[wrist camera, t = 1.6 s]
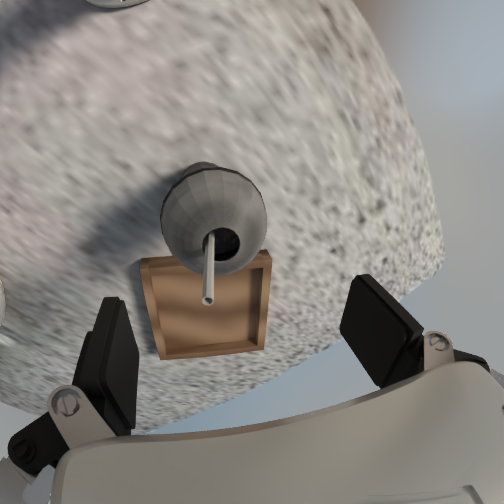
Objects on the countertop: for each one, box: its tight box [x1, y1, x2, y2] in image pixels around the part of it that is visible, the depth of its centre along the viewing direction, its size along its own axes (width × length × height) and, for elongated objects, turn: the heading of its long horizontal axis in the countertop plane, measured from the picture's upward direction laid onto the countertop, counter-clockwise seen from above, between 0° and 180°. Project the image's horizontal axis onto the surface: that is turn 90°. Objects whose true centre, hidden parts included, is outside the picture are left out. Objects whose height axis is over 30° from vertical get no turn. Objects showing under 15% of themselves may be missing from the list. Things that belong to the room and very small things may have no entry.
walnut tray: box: [140, 250, 272, 360], centre depth 35 cm, size 15×15×2 cm
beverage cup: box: [160, 162, 267, 306], centre depth 20 cm, size 7×7×20 cm
